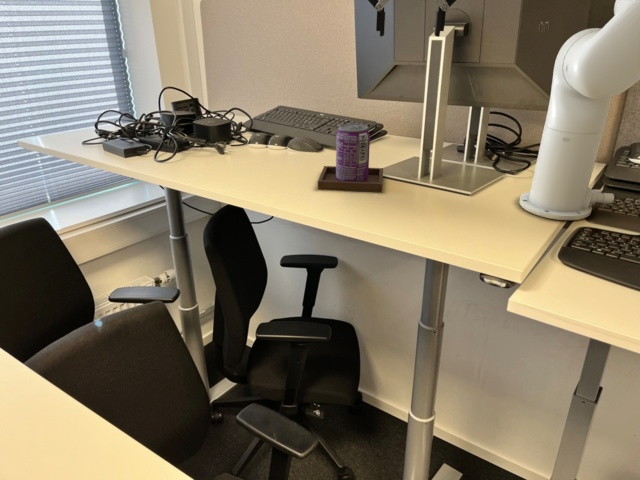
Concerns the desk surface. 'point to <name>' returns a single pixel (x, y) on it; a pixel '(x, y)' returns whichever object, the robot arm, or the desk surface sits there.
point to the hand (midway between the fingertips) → (409, 35)
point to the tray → (331, 183)
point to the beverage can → (352, 152)
